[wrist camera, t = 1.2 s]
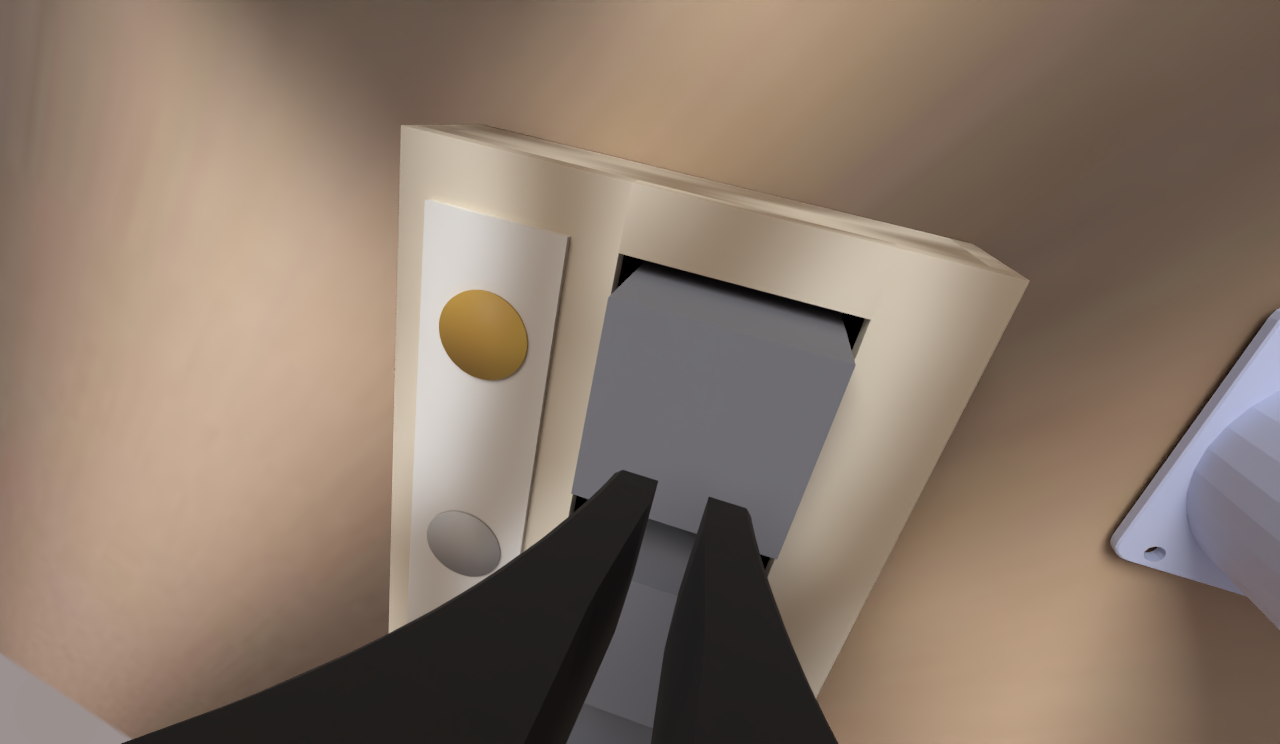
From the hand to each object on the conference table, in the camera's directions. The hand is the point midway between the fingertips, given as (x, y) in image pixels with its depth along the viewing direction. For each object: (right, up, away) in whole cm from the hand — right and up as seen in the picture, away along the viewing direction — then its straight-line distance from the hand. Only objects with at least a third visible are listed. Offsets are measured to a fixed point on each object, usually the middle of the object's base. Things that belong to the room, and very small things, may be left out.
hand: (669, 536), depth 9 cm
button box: (-1, -2, +12) cm, 12 cm away
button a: (+2, +3, +6) cm, 7 cm away
